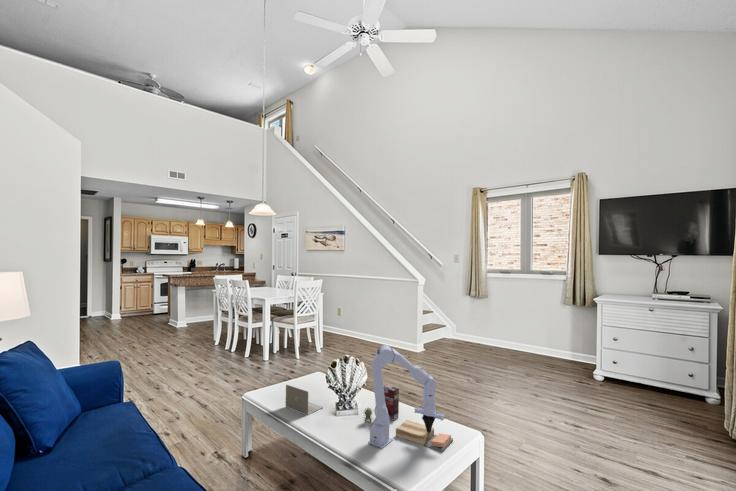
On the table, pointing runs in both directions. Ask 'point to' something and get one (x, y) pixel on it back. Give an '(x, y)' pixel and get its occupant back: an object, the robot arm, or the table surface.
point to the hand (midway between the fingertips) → (429, 431)
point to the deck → (414, 432)
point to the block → (441, 440)
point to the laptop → (299, 401)
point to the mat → (436, 446)
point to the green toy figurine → (368, 415)
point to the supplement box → (392, 401)
